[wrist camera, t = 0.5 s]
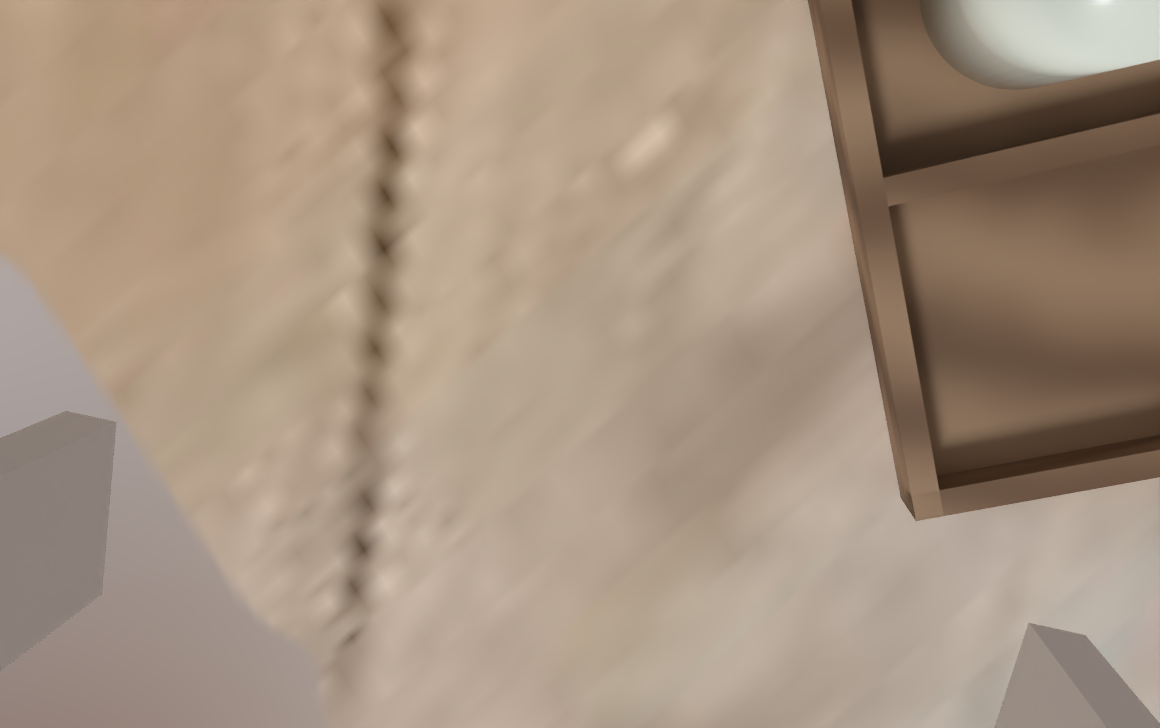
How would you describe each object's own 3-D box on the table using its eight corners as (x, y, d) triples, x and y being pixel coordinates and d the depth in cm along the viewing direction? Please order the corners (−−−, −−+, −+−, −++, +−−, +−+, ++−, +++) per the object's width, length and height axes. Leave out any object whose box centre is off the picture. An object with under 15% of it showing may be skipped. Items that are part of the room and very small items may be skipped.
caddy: (781, -141, 34) (789, -165, 31) (1205, -262, 32) (1248, -297, 29) (901, 498, 38) (915, 521, 35) (1283, 427, 36) (1327, 446, 33)
